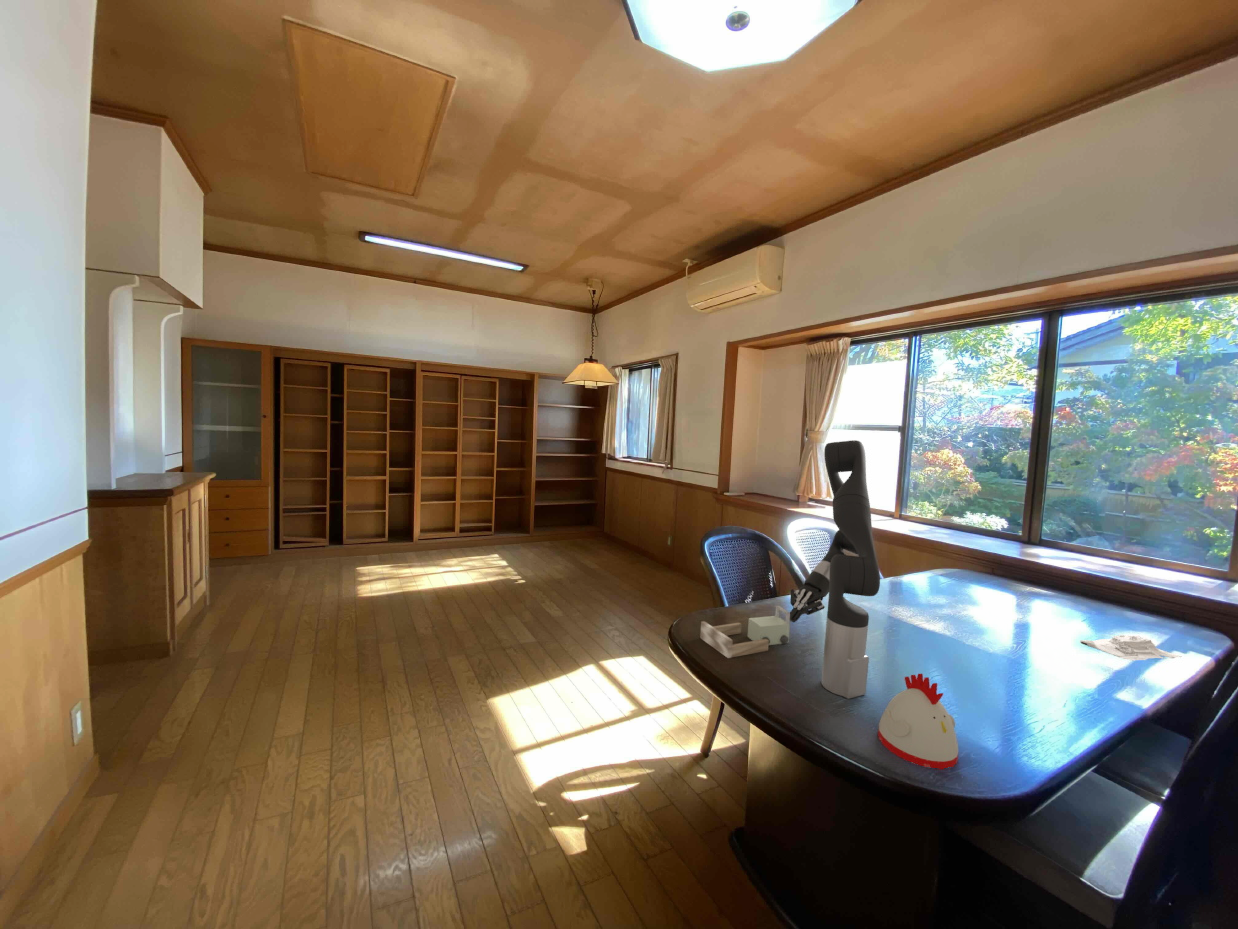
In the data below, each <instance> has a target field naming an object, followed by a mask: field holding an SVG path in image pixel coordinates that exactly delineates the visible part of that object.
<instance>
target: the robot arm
mask: <svg viewBox="0 0 1238 929" xmlns="http://www.w3.org/2000/svg"><path fill="white" fill-rule="evenodd" d="M823 452H824V455H823V457H824V464H825V470H826V473H827V477H828V480H829V481H828V482H829V484H830V489H831V492H832V494H833V498H832V515H833V516H832V518H833V521H834V524H835V525H836V527H837V528H838V530H837V531H836V532H835V534H834V537H833V540H832V543H831V544H830V546H829V549H828V552H827V553H826V554H825V556H824V557H823V558H822V560H821V561H820V562H818V563H817V565H816V566H815V567H814V568H813V570H812V571H810V573H809V575H808V576H807V577H806V579H805V580H804V582H803V583H804V584H803V585H802V586H801V587H799V589H796V590H795V589H794V588H793V589H791V590H790V598H789V600H790V602H789V603H790V605H791V606H792V609H791V610H790V612H789V613H790V621H789V622H792V623H795V622H797V621H798V620H799V619H800V618H801V617H802V615H807V616H809V615H812V614H814V613H817V612H819V611H821V610H824V609H825V608H826V606H825V605H824V603H823V600H824V598H826V597H827V596H828V604H827V611H826V612H827V613H826V624H825V632H824V633H825V636H824V646H823V656H822V660H823V661H822V671H821V673H822V674H821V681H820V682H821V685H822V687H823V688H825V689H826V690H827V691H829V692H831V693H832V694H834V695H838V696H840V697H844V698H845V699H850V700H851V699H853V698H858V697H861V696H863V695H864V696H865V695H866V694H867V693H866V692H867V682H868V673H869V672H868V671H869V660H870V657H869V656H868V655H866V654H867V652H866V650H867V641H868V627H869V619H870V616H869V613H868V611H867V610H866V609H864V608H863V607H861V606H859V605H857V604H855V603H854V602H852V601H850V600H848V599H847V598H846V597H845V596H844V594H848V595H855V596H861V597H874V596H876V595H877V594H878V593H879V591H880V586H881V575H880V567H879V562H878V556H877V552H876V547H875V543H874V537H873V529H872V528H873V527H872V512H871V503H870V498H869V491H868V485H867V464H866V463H867V461H866V451H865V446H864V445H863V443H862V442H861V441H860V440H842V441H833V442H827V443H826V445H825V447H824V451H823ZM844 472H845V473H847V472H851V473H850V475H849V476H848V478H847V479H846V480H845V481H844V482H843V480H842V478H841V476H840V474H839V473H844ZM844 550H845V551H848V552H850V553H852V554H855V555H858V556H855V555H849V554H848V555H847V554H845V553H844V552H843V551H844Z"/></svg>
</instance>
